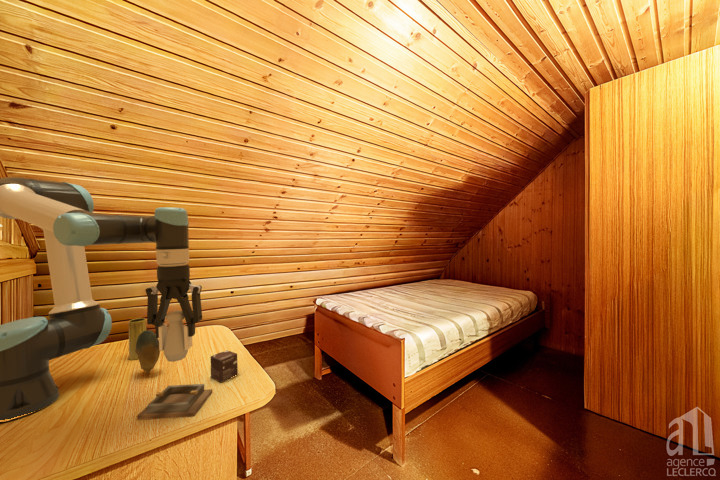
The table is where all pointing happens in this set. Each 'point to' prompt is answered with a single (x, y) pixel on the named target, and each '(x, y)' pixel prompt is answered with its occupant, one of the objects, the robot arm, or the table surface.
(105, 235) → the robot arm
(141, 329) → the vase
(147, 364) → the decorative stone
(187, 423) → the table surface
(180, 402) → the base
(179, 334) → the salt shaker
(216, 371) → the box
